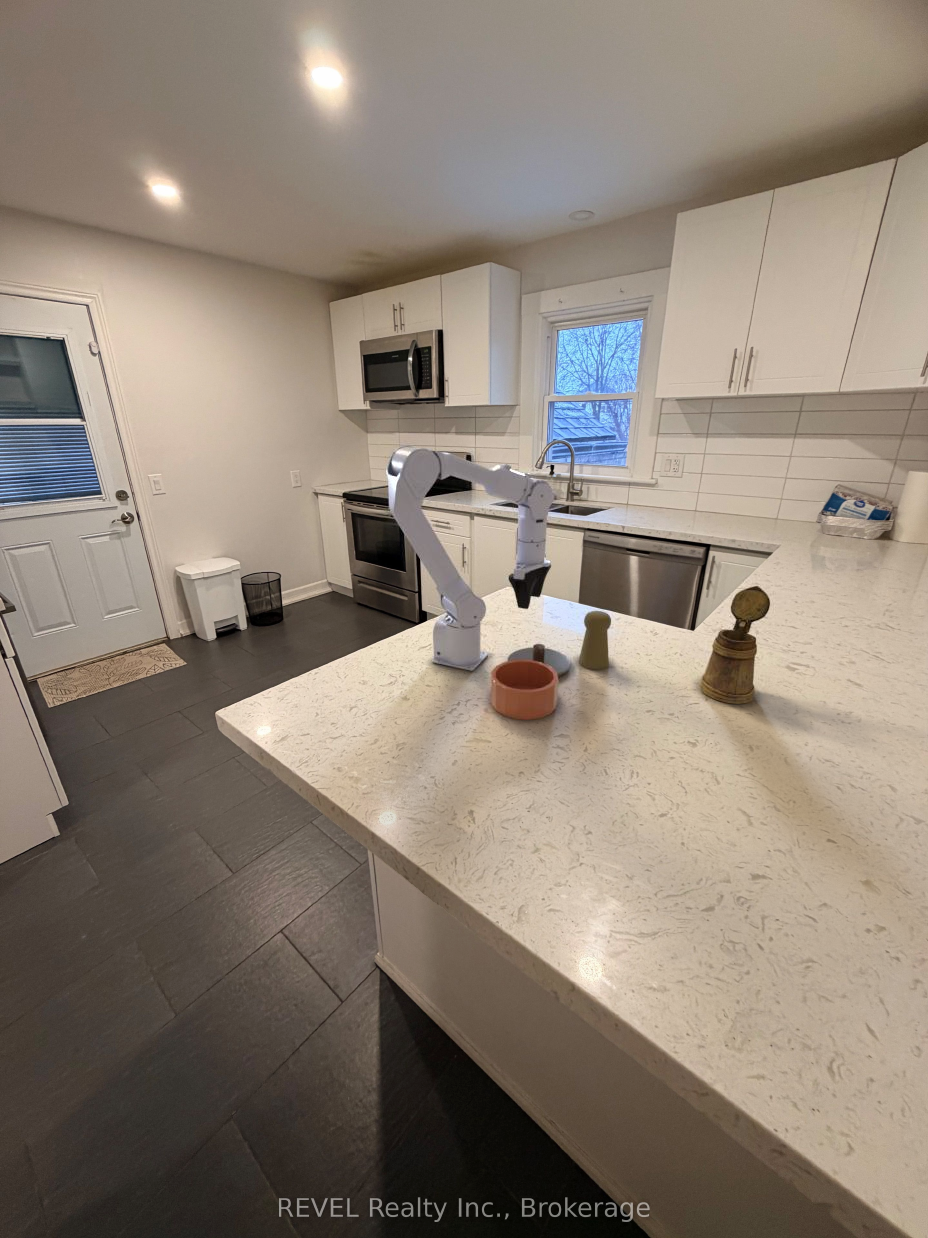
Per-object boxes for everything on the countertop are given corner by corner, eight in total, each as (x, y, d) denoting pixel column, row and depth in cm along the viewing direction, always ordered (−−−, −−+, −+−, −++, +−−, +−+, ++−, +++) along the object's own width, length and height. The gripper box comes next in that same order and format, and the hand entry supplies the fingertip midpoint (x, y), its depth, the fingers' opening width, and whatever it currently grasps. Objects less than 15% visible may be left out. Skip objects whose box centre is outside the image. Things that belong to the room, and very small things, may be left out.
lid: (497, 673, 98) (498, 653, 97) (519, 647, 109) (520, 629, 107) (559, 686, 93) (560, 665, 92) (576, 658, 104) (578, 639, 102)
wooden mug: (764, 679, 94) (786, 590, 87) (746, 710, 85) (769, 612, 78) (714, 665, 100) (731, 580, 93) (692, 693, 90) (709, 600, 83)
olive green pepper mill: (609, 670, 98) (615, 619, 94) (578, 668, 100) (582, 617, 95) (607, 657, 104) (613, 608, 100) (578, 654, 105) (582, 606, 101)
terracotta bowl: (480, 710, 86) (480, 683, 84) (505, 679, 96) (506, 655, 94) (544, 726, 81) (546, 698, 79) (564, 693, 91) (565, 667, 89)
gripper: (539, 549, 93) (536, 616, 98) (560, 533, 105) (557, 593, 110) (504, 546, 96) (503, 611, 101) (529, 530, 108) (527, 589, 113)
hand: (529, 601), depth 106 cm, fingers open, 7 cm apart
